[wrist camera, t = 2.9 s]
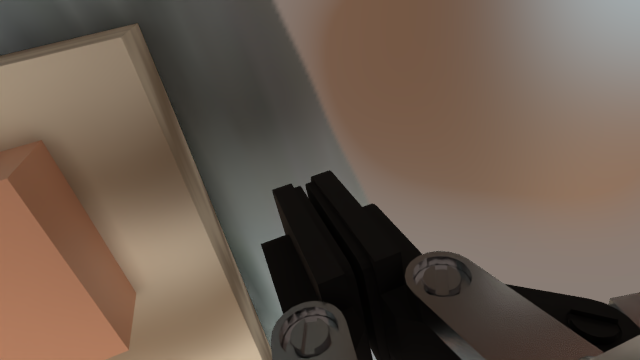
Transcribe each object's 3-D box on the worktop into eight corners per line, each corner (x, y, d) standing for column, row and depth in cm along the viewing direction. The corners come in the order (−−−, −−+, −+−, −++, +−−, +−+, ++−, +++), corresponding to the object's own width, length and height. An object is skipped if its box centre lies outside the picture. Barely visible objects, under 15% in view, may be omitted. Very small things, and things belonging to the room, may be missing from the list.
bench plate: (-418, 155, 11) (-784, 256, 7) (137, 23, 14) (121, 37, 10) (-1, 471, 21) (-46, 592, 17) (272, 353, 24) (293, 431, 20)
